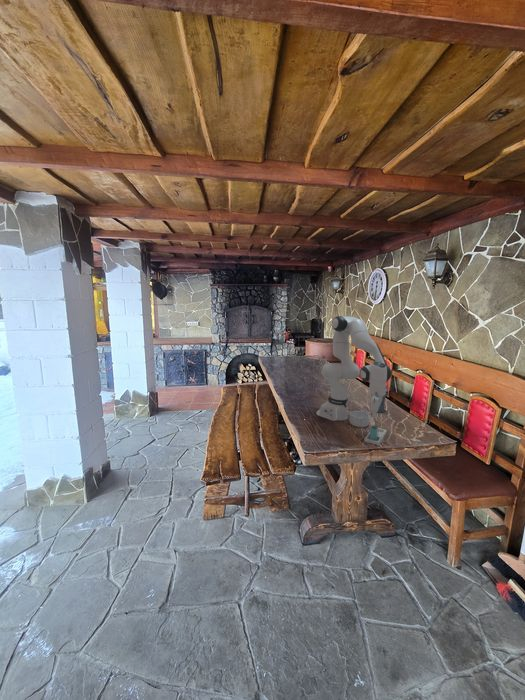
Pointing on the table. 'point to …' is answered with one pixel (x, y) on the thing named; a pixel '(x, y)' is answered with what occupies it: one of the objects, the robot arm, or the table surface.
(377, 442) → the socket panel
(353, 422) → the ramekin
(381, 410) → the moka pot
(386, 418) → the table surface
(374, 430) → the teal plug
